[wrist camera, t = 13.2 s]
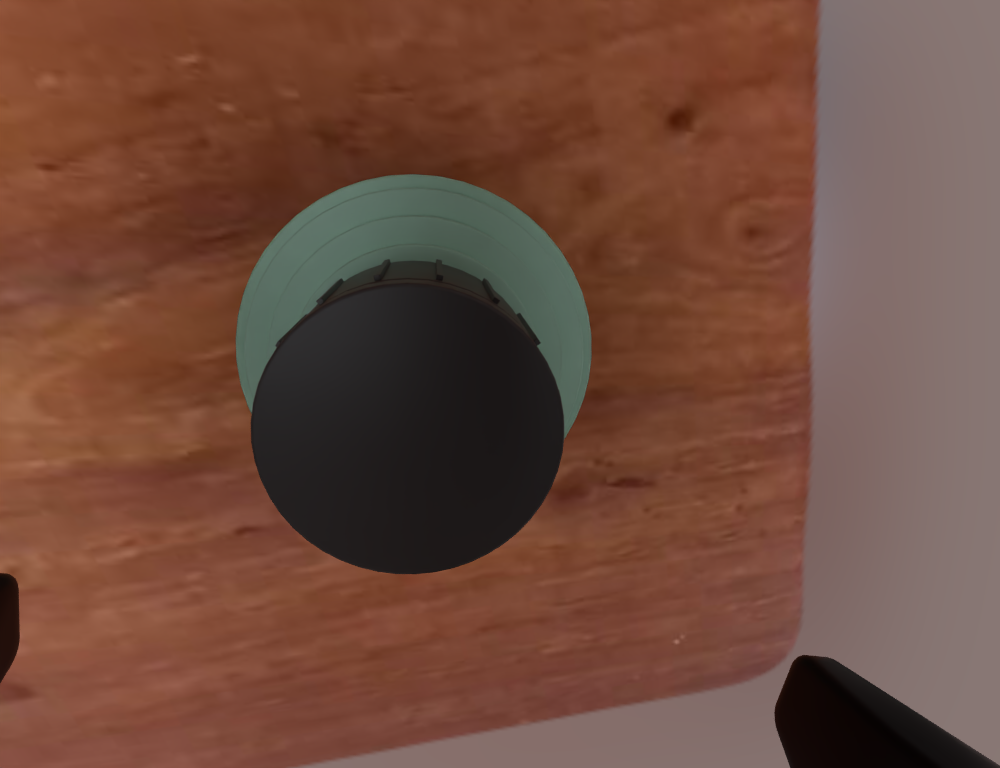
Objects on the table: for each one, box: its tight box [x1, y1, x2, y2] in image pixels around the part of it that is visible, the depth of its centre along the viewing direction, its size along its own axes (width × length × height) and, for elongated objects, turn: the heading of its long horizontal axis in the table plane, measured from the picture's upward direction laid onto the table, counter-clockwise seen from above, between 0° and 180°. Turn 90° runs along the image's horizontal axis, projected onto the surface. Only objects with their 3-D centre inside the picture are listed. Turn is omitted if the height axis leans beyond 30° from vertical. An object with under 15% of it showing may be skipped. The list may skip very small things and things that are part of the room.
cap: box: [251, 259, 564, 574], centre depth 9 cm, size 4×4×3 cm
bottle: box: [236, 174, 592, 439], centre depth 14 cm, size 6×6×12 cm
